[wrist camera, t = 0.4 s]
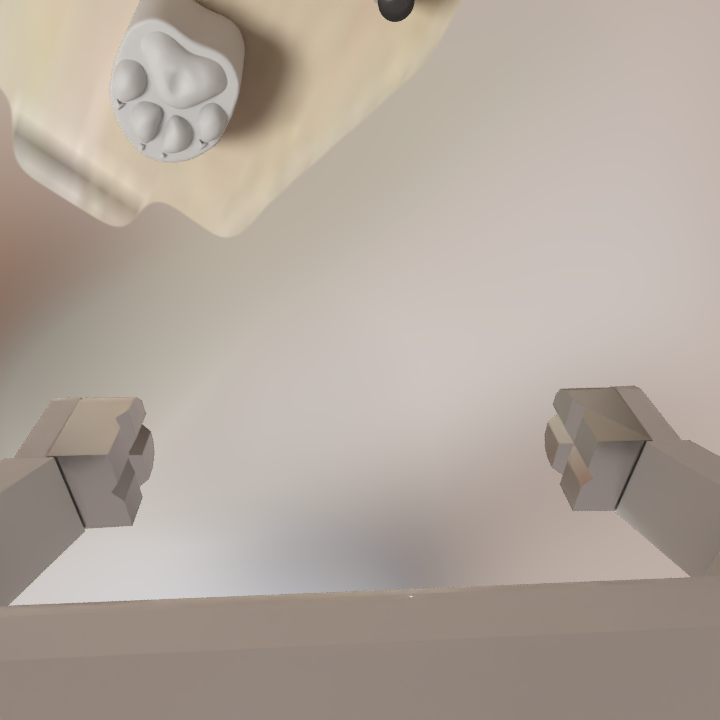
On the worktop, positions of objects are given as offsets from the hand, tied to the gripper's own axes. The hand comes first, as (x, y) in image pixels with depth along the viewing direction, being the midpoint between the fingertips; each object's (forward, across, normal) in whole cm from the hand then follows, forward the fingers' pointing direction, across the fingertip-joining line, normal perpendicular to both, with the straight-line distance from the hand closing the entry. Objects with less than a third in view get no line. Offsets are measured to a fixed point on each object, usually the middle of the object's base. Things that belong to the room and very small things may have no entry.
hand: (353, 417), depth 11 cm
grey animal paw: (+53, +14, 0) cm, 55 cm away
